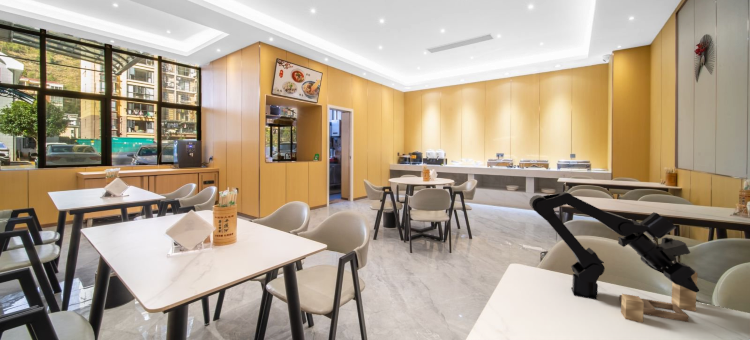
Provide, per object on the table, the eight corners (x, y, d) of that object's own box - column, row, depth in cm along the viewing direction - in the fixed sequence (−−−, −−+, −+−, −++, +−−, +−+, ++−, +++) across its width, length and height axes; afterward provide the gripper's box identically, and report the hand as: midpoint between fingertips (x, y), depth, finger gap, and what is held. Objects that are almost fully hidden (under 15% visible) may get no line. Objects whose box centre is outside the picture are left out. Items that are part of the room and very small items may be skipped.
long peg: (679, 308, 94) (680, 271, 93) (671, 302, 97) (673, 266, 97) (695, 310, 92) (697, 273, 92) (687, 304, 96) (689, 268, 95)
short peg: (625, 319, 88) (626, 299, 87) (621, 312, 91) (621, 293, 91) (642, 322, 86) (643, 302, 86) (637, 315, 90) (638, 296, 89)
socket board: (627, 310, 92) (627, 305, 92) (619, 299, 99) (619, 294, 99) (688, 321, 86) (688, 316, 86) (675, 308, 93) (675, 303, 93)
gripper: (687, 239, 86) (736, 282, 83) (652, 225, 104) (692, 259, 101) (652, 263, 89) (698, 304, 86) (624, 245, 107) (662, 279, 104)
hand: (687, 285), depth 94 cm, fingers open, 9 cm apart
